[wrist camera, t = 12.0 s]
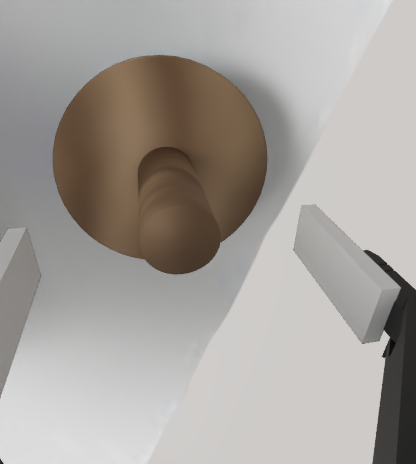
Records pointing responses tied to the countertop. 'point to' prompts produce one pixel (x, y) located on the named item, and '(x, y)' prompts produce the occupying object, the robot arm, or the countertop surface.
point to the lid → (160, 160)
